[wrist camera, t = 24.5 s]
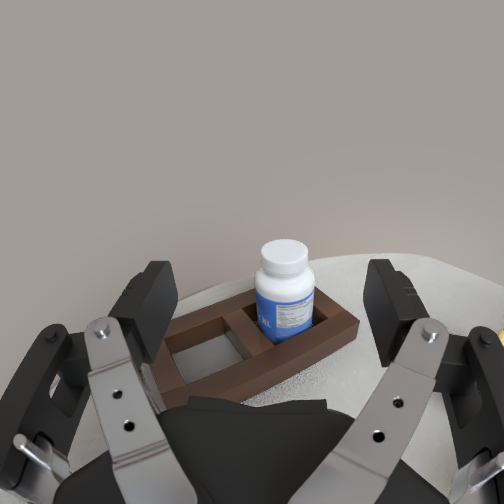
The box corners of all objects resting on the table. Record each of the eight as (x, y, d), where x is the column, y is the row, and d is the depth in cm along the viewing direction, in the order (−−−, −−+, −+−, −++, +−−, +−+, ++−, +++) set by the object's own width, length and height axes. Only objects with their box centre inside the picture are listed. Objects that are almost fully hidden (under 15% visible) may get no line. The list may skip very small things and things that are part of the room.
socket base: (356, 338, 28) (360, 320, 27) (178, 429, 21) (169, 415, 19) (295, 288, 36) (295, 271, 35) (144, 348, 29) (137, 331, 28)
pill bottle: (254, 319, 32) (247, 238, 27) (302, 310, 33) (304, 231, 28) (264, 356, 27) (258, 271, 23) (318, 345, 28) (325, 260, 23)
